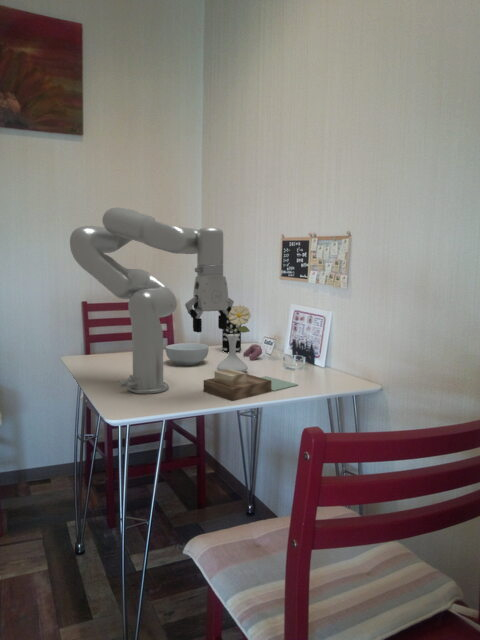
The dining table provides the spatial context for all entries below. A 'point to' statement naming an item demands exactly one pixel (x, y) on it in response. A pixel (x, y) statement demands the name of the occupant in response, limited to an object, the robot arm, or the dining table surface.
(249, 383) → the serving board
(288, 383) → the rubber mat
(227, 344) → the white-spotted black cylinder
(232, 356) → the flower in vase
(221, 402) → the dining table surface
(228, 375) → the beige block
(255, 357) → the pink curved arch
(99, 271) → the robot arm
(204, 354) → the cereal bowl
